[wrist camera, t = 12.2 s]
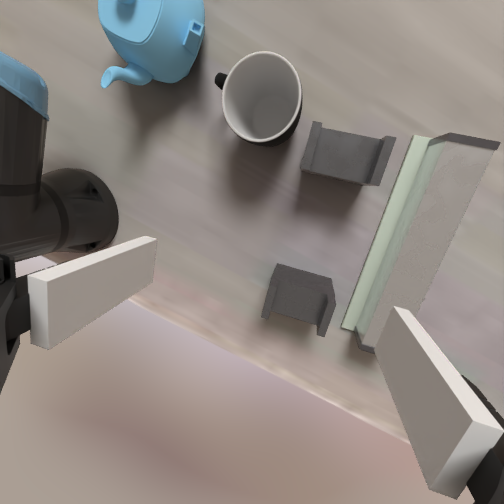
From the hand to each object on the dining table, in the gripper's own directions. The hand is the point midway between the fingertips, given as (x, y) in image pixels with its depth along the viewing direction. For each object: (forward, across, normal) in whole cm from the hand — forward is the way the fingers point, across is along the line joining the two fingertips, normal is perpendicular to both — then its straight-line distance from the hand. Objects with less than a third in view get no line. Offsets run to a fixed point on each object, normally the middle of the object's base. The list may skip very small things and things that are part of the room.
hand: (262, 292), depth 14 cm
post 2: (+28, +4, +10) cm, 30 cm away
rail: (+28, +17, 0) cm, 32 cm away
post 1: (+28, +4, -10) cm, 30 cm away
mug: (+29, -8, +14) cm, 33 cm away
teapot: (+29, -23, +21) cm, 42 cm away
